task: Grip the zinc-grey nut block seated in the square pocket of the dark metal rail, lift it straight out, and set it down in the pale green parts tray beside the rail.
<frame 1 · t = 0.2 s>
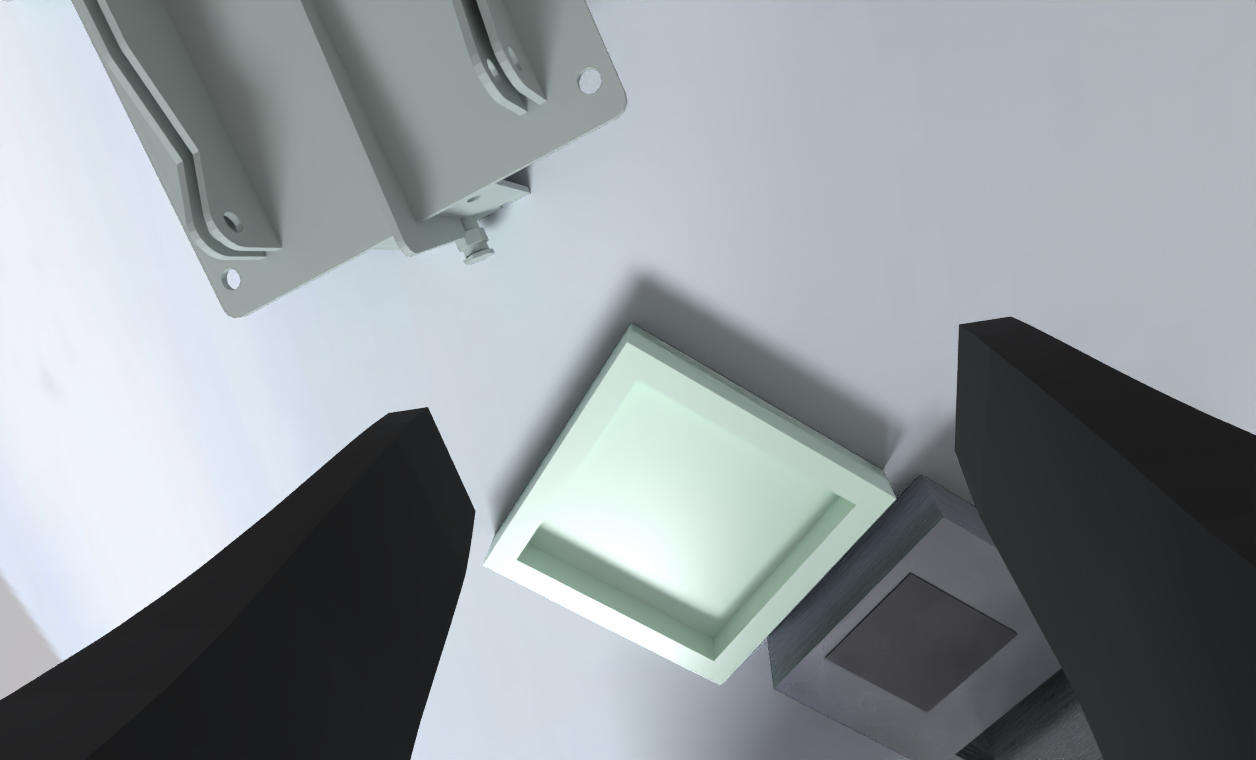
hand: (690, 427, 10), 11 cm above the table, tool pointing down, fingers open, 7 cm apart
tray: (679, 505, 23), on the table
rail: (1016, 660, 25), on the table
nut: (1075, 709, 24), point 1 cm above the table, touching rail
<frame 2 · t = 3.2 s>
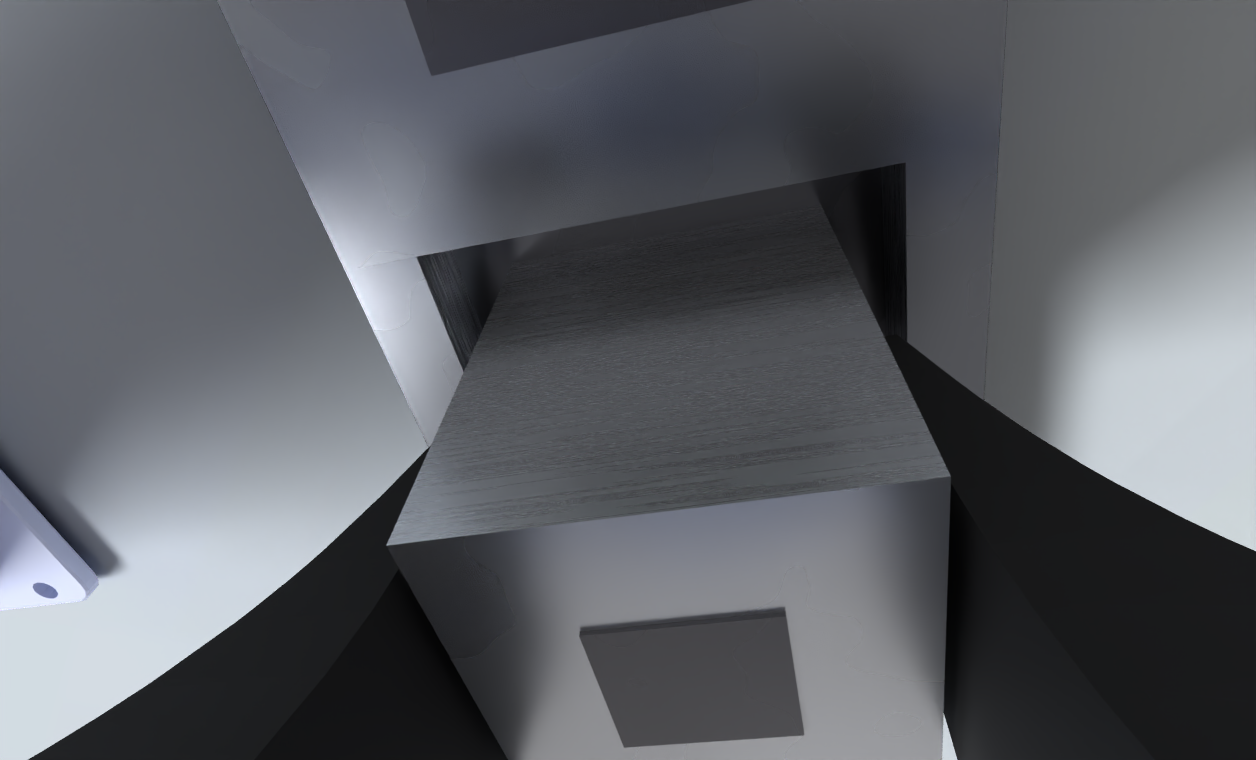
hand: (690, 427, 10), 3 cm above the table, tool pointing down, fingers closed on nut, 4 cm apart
rail: (664, 221, 11), on the table
nut: (688, 365, 11), point 1 cm above the table, touching gripper, rail
when the fingers open (3 cm above the table, at t = 7.2 s): nut stays where it is, resting on tray.
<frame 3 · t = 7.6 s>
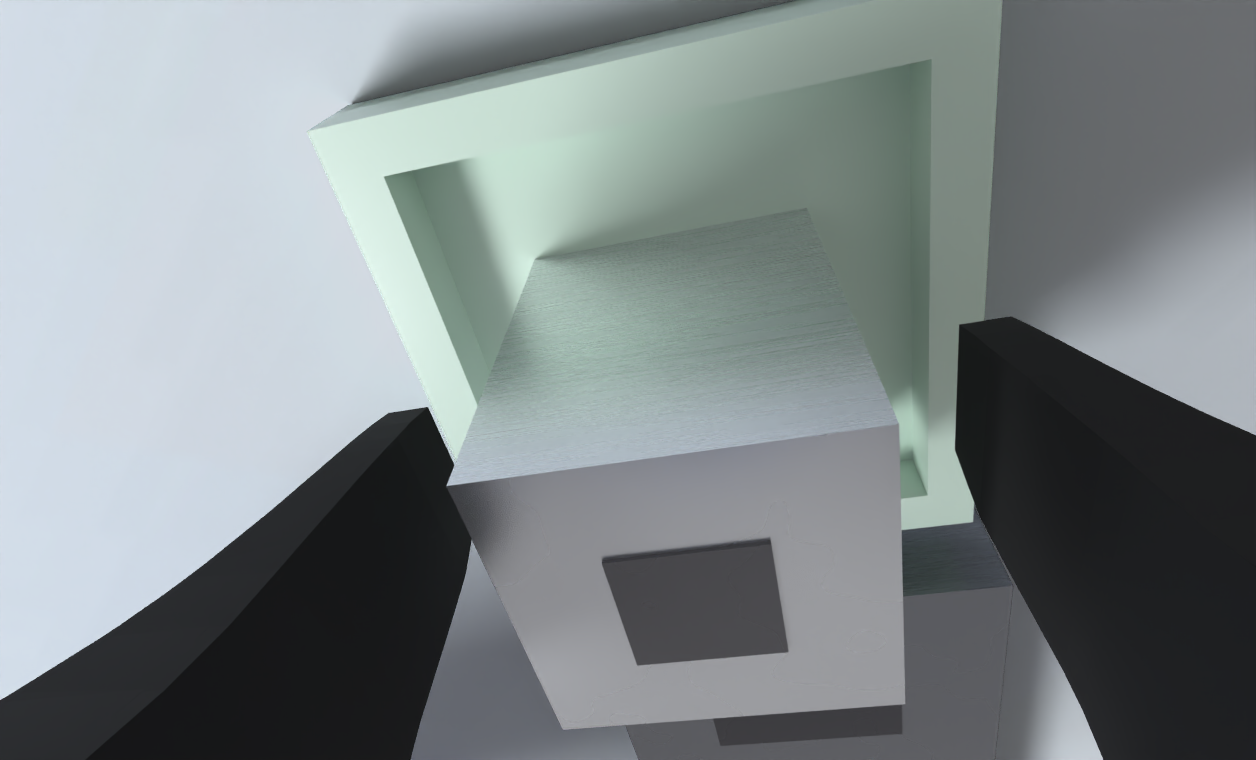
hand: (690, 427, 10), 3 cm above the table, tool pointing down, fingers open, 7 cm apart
tray: (686, 310, 13), on the table
rail: (805, 720, 20), on the table
nut: (690, 350, 13), resting on tray
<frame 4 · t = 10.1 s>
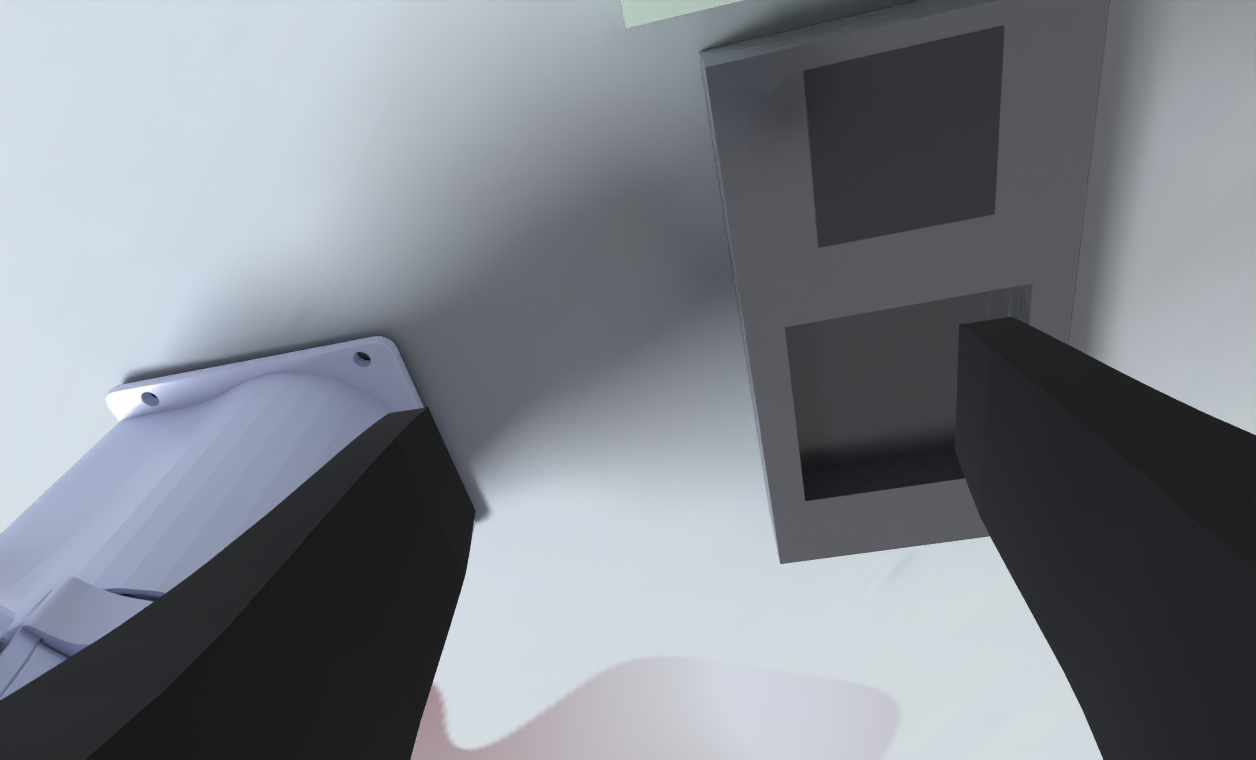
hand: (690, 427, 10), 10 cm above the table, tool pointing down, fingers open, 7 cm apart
rail: (882, 301, 20), on the table
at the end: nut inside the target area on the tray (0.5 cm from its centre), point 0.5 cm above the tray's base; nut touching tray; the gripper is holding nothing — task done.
